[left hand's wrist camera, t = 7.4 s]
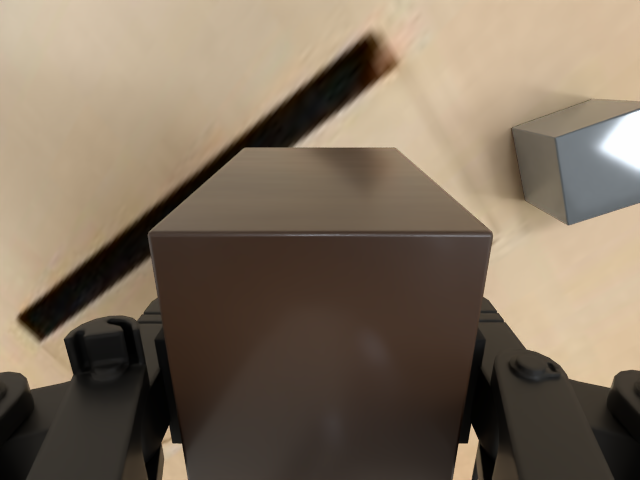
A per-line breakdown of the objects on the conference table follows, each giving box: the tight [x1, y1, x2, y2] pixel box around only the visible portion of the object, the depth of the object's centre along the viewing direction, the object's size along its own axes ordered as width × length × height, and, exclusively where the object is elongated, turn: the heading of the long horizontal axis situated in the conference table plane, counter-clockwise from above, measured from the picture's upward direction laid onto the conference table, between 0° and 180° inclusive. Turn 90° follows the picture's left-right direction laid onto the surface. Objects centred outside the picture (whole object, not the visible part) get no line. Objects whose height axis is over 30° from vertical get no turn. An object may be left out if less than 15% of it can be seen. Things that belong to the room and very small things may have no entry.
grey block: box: [512, 99, 640, 225], centre depth 23 cm, size 5×5×5 cm
